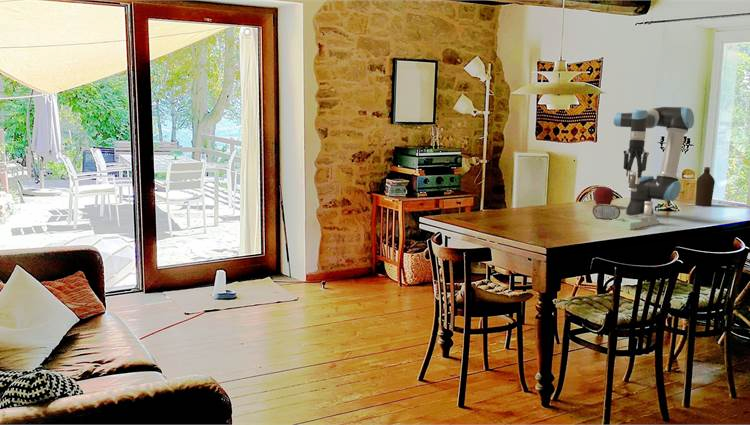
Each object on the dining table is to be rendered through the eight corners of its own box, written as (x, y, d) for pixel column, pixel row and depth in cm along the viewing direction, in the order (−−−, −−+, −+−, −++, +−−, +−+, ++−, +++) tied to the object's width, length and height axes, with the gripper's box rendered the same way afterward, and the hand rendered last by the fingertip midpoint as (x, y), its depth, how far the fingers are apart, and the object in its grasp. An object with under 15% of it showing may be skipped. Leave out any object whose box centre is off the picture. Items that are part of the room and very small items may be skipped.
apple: (604, 209, 423) (606, 187, 421) (589, 206, 432) (590, 185, 430) (616, 207, 430) (618, 186, 428) (600, 204, 439) (602, 184, 437)
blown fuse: (626, 190, 365) (628, 172, 364) (630, 190, 368) (632, 171, 366) (633, 191, 362) (635, 172, 360) (638, 191, 365) (639, 172, 363)
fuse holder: (625, 223, 375) (626, 215, 374) (642, 220, 385) (643, 212, 385) (642, 226, 367) (642, 218, 367) (659, 223, 378) (659, 215, 377)
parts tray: (609, 226, 368) (610, 219, 367) (622, 223, 375) (622, 217, 374) (629, 229, 358) (630, 223, 358) (642, 227, 366) (643, 221, 365)
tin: (619, 219, 389) (620, 204, 387) (619, 220, 386) (621, 205, 384) (591, 217, 393) (593, 203, 391) (592, 218, 390) (593, 204, 388)
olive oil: (714, 207, 440) (718, 168, 436) (696, 206, 442) (700, 167, 437) (709, 204, 450) (713, 166, 446) (692, 203, 452) (696, 166, 448)
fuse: (641, 219, 379) (643, 201, 377) (645, 218, 382) (647, 200, 380) (648, 220, 376) (650, 202, 374) (652, 219, 378) (654, 201, 377)
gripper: (618, 138, 365) (614, 181, 369) (648, 140, 352) (644, 185, 355) (626, 138, 369) (622, 181, 373) (656, 140, 356) (651, 184, 360)
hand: (633, 183), depth 364 cm, fingers closed on blown fuse, 4 cm apart
